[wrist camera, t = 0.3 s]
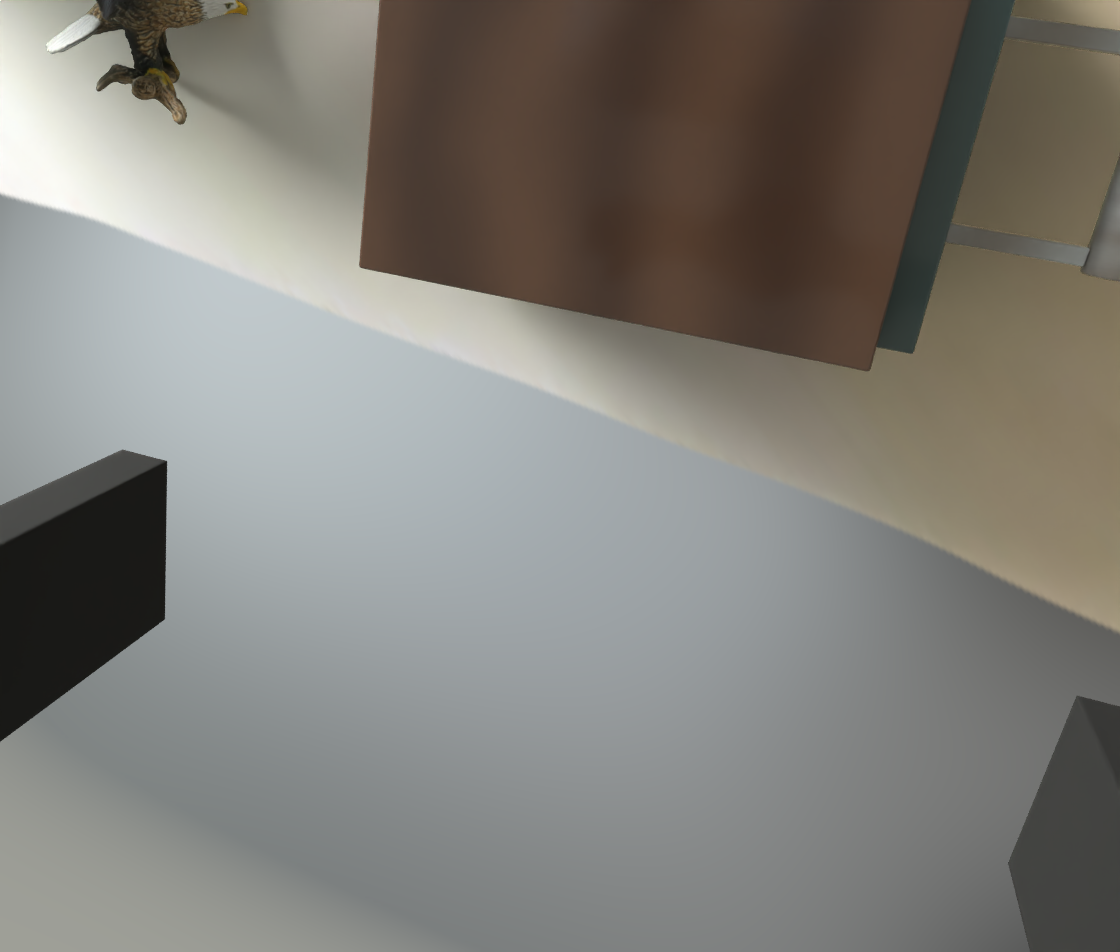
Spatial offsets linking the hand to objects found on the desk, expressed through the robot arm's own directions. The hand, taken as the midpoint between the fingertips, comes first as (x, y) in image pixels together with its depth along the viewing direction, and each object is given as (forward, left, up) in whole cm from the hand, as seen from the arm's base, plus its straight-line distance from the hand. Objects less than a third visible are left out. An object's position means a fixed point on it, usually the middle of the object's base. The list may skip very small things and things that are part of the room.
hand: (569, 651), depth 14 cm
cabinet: (-8, -4, -28) cm, 29 cm away
